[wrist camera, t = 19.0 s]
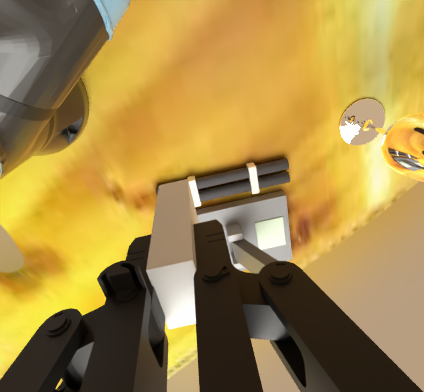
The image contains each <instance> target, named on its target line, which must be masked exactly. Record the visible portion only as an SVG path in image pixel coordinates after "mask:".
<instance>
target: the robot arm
mask: <svg viewBox="0 0 424 392" xmlns="http://www.w3.org/2000/svg"><path fill="white" fill-rule="evenodd" d="M129 3H130V0H0V179H2V178H3V177H4V176H6V175H7V174H8V173H10V172H11V171H13V170H14V169H15V168H17V167H18V166H19V165H21V164H22V163H23V162H25V161H26V160H28V159H29V158H30V157H32V156H42V155H49V154H53V153H56V152H59V151H61V150H63V149H65V148H67V147H68V146H69V145H71V144H72V143H73V142H74V141H75V140H76V139H77V138H78V137H79V136H80V135H81V133H82V132H83V130H84V128H85V126H86V123H87V120H88V115H89V102H88V96H87V92H86V89H85V87H84V84H83V82H82V80H81V78H80V77H81V76H82V75H83V73H84V72H85V70H86V69H87V68H88V66H89V65H90V63H91V62H92V60H93V59H94V58H95V56H96V55H97V53H98V52H99V51H100V49H101V48H102V46H103V45H104V44H105V42H106V41H110V40H111V39H112V36H113V31H114V29H115V28H116V26H117V24H118V23H119V21H120V20H121V18H122V17H123V15H124V14H125V12H126V10H127V9H128V6H129ZM97 280H98V282H99V284H100V286H101V288H102V290H103V292H104V294H105V296H106V298H107V299H106V302H105V305H103V306H101V307H100V308H98V309H96V310H94V311H91V312H89V313H87V314H85V315H83V316H82V315H81V313H80V312H79V311H78V310H77V309H65V310H62V311H60V312H57V313H55V314H54V315H52V316H51V317H49V318H48V319H47V320H46V321H45V322H44V323H43V324H42V325H41V326H40V327H39V329H38V330H37V331H36V333H35V334H34V335H33V337H32V338H31V339H30V341H29V342H28V343H27V345H26V346H25V347H24V349H23V350H22V351H21V353H20V354H19V356H18V357H17V358H16V360H15V361H14V362H13V364H12V365H11V366H10V368H9V369H8V370H7V372H6V373H5V374H4V376H3V377H2V378H1V380H0V392H167V365H168V339H167V336H166V333H165V331H164V330H165V321H166V323H167V326H168V329H173V328H177V327H182V326H186V325H191V324H195V323H196V333H197V351H198V368H199V386H200V392H263V389H262V385H261V381H260V377H259V373H258V368H257V364H256V360H255V356H254V352H253V347H252V344H251V339H250V338H255V339H267V340H270V343H271V344H272V346H273V348H274V349H275V351H276V353H277V354H278V356H279V357H280V359H281V361H282V362H283V364H284V365H285V367H286V369H287V370H288V372H289V374H290V375H291V377H292V379H293V380H294V382H295V383H296V385H297V386H298V388H299V390H300V391H301V392H423V391H422V390H421V389H420V388H419V387H418V386H417V385H416V384H415V383H414V382H412V380H411V379H410V378H409V377H408V376H407V375H406V374H405V373H404V372H403V371H402V370H401V369H400V368H399V367H398V366H397V365H396V364H395V363H394V362H393V361H392V360H391V359H390V358H389V357H388V356H387V355H386V354H385V353H384V352H383V351H382V350H381V349H380V348H379V347H378V346H377V345H376V344H375V343H374V342H373V341H372V340H371V339H370V338H369V337H368V336H367V335H366V334H365V333H364V332H363V331H362V330H361V329H360V328H359V327H358V326H357V325H356V324H355V323H354V322H353V321H352V320H351V319H350V318H349V317H348V316H347V315H346V314H345V313H344V312H343V311H342V310H341V309H340V308H339V307H338V306H337V305H336V304H335V303H334V302H333V301H332V300H331V299H330V298H329V297H328V296H327V295H326V294H325V293H324V292H323V291H322V290H321V289H320V288H319V287H318V286H317V285H316V284H315V283H314V282H313V281H312V280H311V279H310V278H309V277H308V276H307V274H306V273H305V272H303V270H302V269H301V268H300V267H298V266H297V265H295V264H294V263H290V262H287V261H275V262H271V263H269V264H267V265H265V266H264V267H263V268H262V269H261V270H260V272H259V273H246V272H243V271H240V270H238V269H236V268H235V267H234V266H233V264H232V262H231V258H230V254H229V250H228V246H227V242H226V238H225V233H224V229H223V225H222V224H221V223H220V222H219V221H218V220H216V219H215V220H210V221H206V222H201V223H199V220H198V216H197V213H196V209H195V205H194V201H193V197H192V193H191V189H190V185H189V182H188V179H185V180H181V181H176V182H172V183H167V184H163V185H159V189H158V196H157V202H156V209H155V215H154V222H153V228H152V234H151V235H147V236H142V237H138V238H135V240H134V241H133V242H132V243H131V245H130V246H129V249H128V253H127V257H126V261H120V262H117V263H114V264H112V265H111V266H109V267H107V268H106V269H105V270H104V271H103V272H101V273H100V275H99V277H98V278H97ZM61 378H62V380H63V381H62V383H61V385H60V386H59V387H58V388H57V389H55V388H56V386H57V384H58V383H59V381H60V379H61Z"/></svg>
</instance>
